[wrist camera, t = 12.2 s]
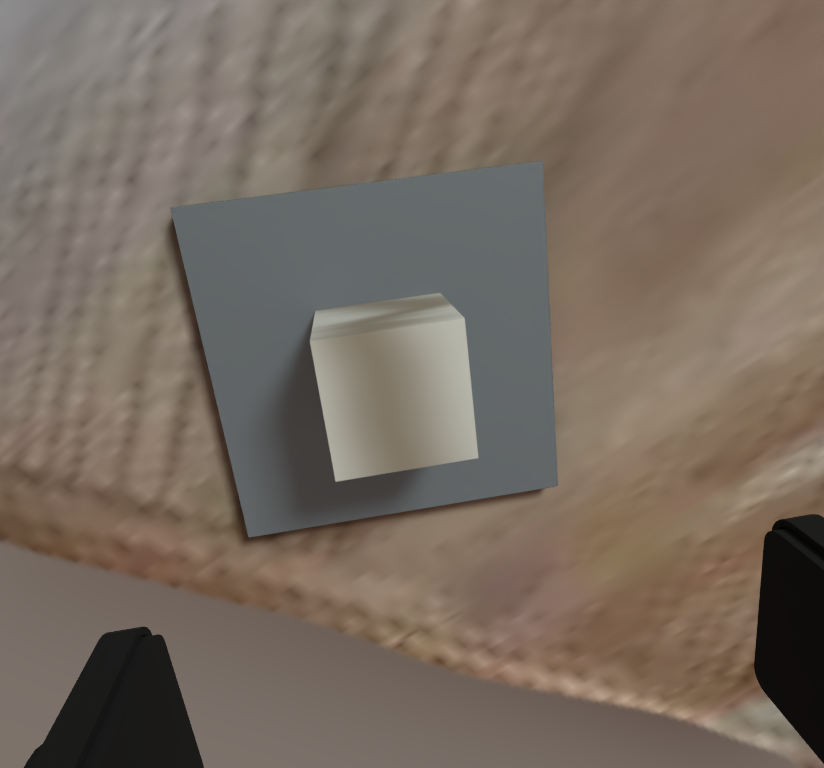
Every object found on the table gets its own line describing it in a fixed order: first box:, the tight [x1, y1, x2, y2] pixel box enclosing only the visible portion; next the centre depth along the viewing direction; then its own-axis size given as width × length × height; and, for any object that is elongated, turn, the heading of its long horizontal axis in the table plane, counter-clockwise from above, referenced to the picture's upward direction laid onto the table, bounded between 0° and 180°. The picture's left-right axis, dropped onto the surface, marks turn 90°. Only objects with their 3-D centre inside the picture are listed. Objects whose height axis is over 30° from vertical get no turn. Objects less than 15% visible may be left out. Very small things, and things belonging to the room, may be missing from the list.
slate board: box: [170, 161, 558, 537], centre depth 25 cm, size 14×14×1 cm
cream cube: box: [310, 293, 478, 482], centre depth 23 cm, size 5×5×5 cm
